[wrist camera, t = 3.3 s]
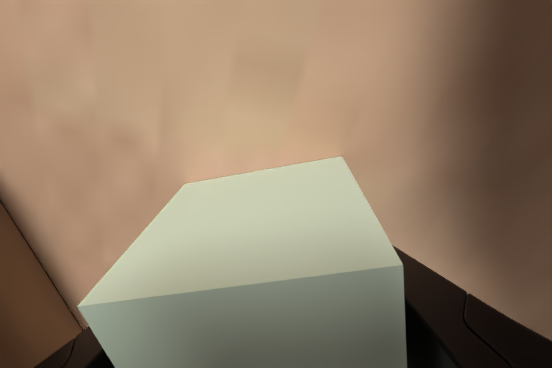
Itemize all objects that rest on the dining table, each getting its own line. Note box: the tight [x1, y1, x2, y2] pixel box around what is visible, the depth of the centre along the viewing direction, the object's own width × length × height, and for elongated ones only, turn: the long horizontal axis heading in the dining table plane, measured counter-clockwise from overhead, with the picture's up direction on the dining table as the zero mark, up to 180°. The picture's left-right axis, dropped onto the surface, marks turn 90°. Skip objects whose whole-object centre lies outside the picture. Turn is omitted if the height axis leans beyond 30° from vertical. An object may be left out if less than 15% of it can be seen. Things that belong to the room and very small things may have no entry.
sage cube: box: [77, 156, 407, 368], centre depth 7 cm, size 5×5×5 cm
